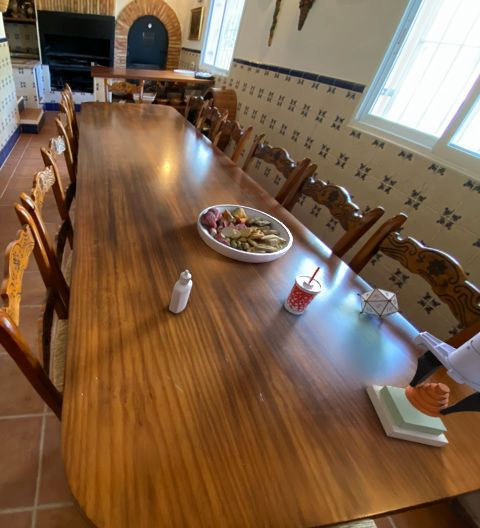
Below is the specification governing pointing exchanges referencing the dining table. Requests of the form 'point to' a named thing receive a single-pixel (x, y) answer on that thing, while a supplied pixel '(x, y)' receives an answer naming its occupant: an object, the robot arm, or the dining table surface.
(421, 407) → the cone
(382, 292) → the game die
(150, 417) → the dining table surface
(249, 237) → the bowl
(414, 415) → the top block
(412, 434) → the base block
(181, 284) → the eye dropper bottle
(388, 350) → the dining table surface
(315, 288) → the beverage cup
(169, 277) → the dining table surface
